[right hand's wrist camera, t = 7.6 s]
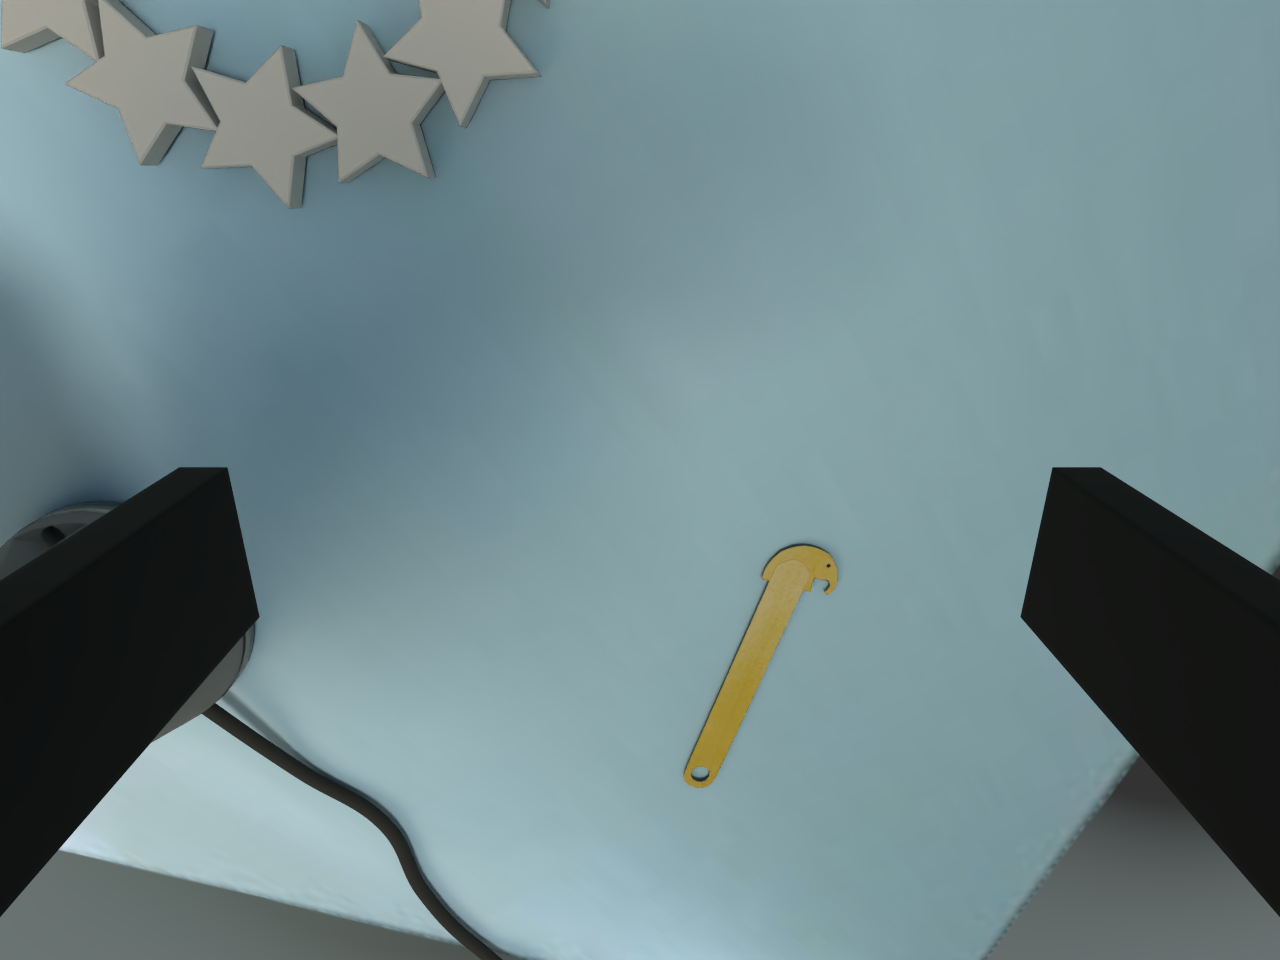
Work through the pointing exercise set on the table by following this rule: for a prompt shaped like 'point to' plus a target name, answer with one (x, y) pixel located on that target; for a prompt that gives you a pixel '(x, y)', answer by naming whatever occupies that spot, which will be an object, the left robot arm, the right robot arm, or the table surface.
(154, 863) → the table surface
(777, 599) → the bottle opener
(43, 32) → the grey flat ring piece
